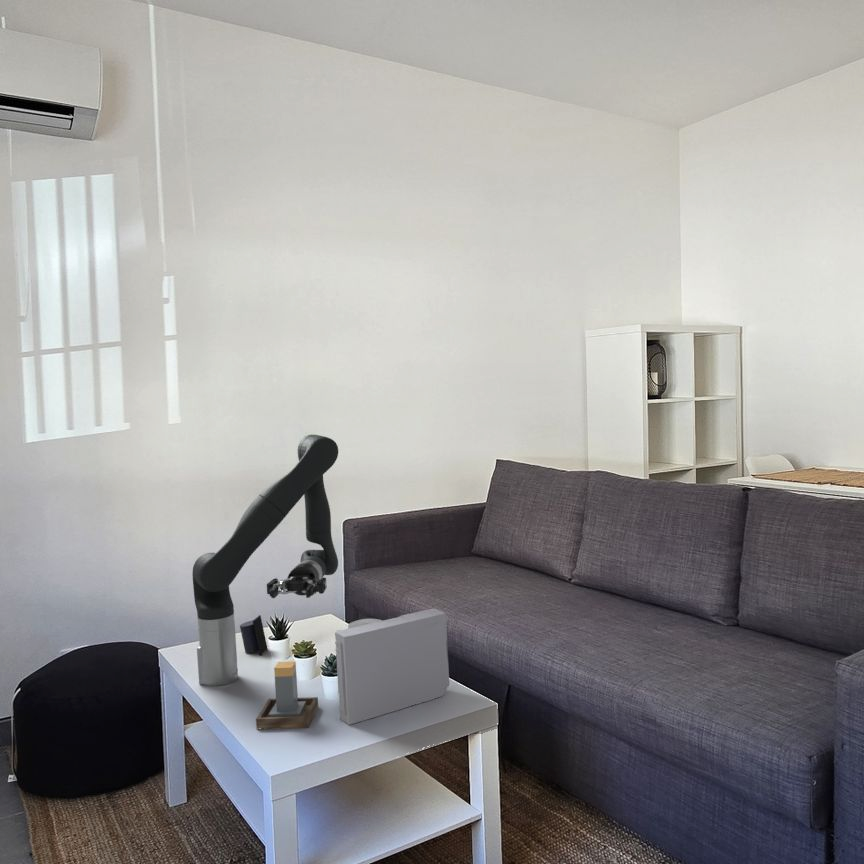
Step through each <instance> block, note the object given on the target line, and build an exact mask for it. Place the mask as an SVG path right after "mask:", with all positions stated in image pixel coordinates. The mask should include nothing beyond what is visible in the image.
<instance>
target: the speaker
mask: <svg viewBox="0 0 864 864" xmlns="http://www.w3.org/2000/svg"><path fill="white" fill-rule="evenodd" d="M239 629H240V633H241V638H242V642H243V648H244V653H246V654H253V653H256V652H258V653H259V657H260V656H263V654H265V653H266V651H268V645H267V644H268V643H267V640H266V635H265V631H264V624H263V620H262V616H261V615H258V616H256V617H255V618H254V619H253V620H249V621H246V622H243V623H241V624H239Z"/></svg>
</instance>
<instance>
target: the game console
mask: <svg viewBox="0 0 864 864" xmlns="http://www.w3.org/2000/svg"><path fill="white" fill-rule="evenodd" d="M447 629H448V628H447V613H446V612H445V611H442V610H440V609H436V608H430V609H426V610H419V611H416V612H412V613H407V614H402V615H399V616H398V617H393V618H388V619H383V620H382V621H379V622H375V623H371V624H366V625H362V626H358V627H353V628H349V629H348V628H345V629H337V630H336V631H335V632H334V638H335V641H334V642H335V643H334V644H335V655H336V659H335V660H336V672H337V676H336V677H337V691H338V692H337V693H338V698H339V701H338V703H339V705H338V706H339V707H338V711H339V719H340V720H341V721H343V722H344V723H346V724H347V725H349V726H350V725H353V724H356V723H361V722H363V721H365V720H370V719H372V718H373V719H374V718H377V717H380V716H383V715H385V714H389V713H393V712H395V711H398V710H399V711H400V710H402V709H405V708H409V707H412V705H413V706H416V705H418V704H422V702H423V703H425V701H426V702H430V701H432V700H435V698H436V699H438V697H439V698H441V696H442V697H443V696H444V695H445V693H446V691H447V689H448V687H449V685H450V673H449V672H450V671H449V670H450V669H449V654H448V652H449V651H448V649H449V648H448V633H447V631H448V630H447ZM415 704H416V705H415Z"/></svg>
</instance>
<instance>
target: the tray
mask: <svg viewBox="0 0 864 864" xmlns="http://www.w3.org/2000/svg"><path fill="white" fill-rule="evenodd" d="M298 701H306V709H305V711H304V713H303V715H302V716H294V717H269V713H270V711H271V710H272V708H273V707H274V705H275V703H276V698H268V700H267V701H266V703H265V704H264V705H263V707H262V709H261V710H260V712H259V714H258V715H257V716H256V718H255V725H256V726H255V727H256V730H263V729H262V728H284V729H308V728H309V727H310V725H311V723H312V720H313V719H314V716H315V715H316V712H317V711H318V708H319V700H318V696H314V697H298ZM257 728H258V729H257ZM259 728H261V729H259Z"/></svg>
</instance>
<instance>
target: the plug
mask: <svg viewBox="0 0 864 864" xmlns="http://www.w3.org/2000/svg"><path fill="white" fill-rule="evenodd" d="M296 665H297V663H296V660H295V661H278V662H277V663H276V665H275V666H274V668H273V669H274V671H273V672H274V673H273V674H274V687H275V689H274V690H275V699H276V703H275V705H274V707H273V708H272V710H271V711H270V713H269V717H294V716H302V715H303V713H304V711H305V709H306V701H298V698H299V697H298V695H299V694H298V681H297V680H298V679H297V677H298V676H297V666H296Z"/></svg>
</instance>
